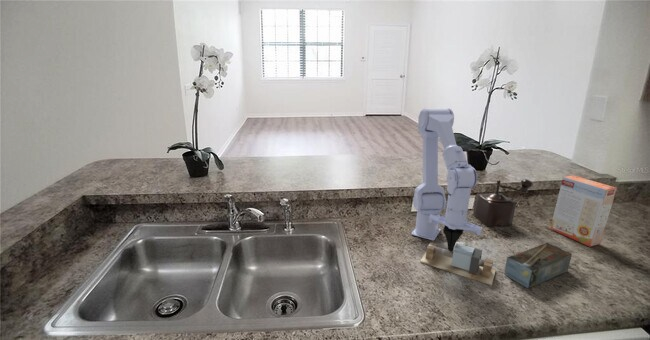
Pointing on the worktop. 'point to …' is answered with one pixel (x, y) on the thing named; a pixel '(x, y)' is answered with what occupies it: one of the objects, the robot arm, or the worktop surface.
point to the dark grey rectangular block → (475, 261)
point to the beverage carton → (537, 264)
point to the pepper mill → (497, 206)
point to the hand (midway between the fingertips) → (450, 249)
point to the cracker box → (582, 209)
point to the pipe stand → (444, 260)
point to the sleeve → (462, 256)
